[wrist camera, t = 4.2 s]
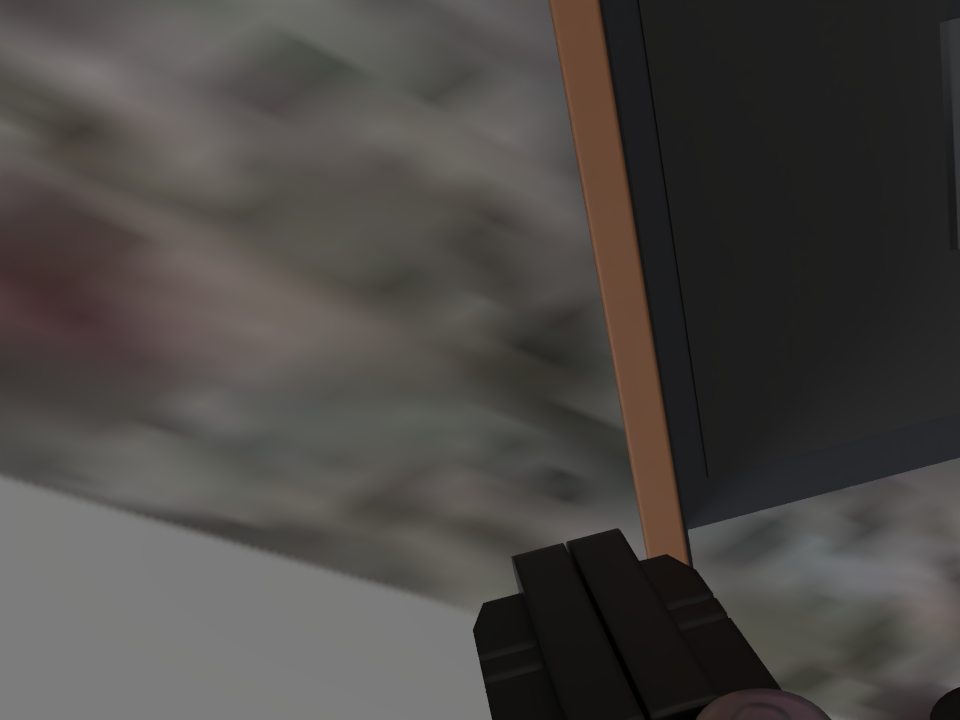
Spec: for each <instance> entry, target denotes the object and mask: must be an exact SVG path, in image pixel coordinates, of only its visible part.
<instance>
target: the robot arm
mask: <svg viewBox="0 0 960 720" xmlns="http://www.w3.org/2000/svg"><path fill="white" fill-rule="evenodd" d="M566 548H567V549H566ZM512 563H513V568H514V573H515V577H516V581H517V586H518V590H519V594H515V595H512V596H508V597H504V598H500V599H497V600H493V601H489V602H485V603H483V605H482V608H481V610H480V613H479V615H478V618H477V621H476V623H475V626H474V629H473V633H474V638H475V642H476V647H477V652H478V656H479V660H480V666H481V670H482V675H483V679H484V683H485V688H486V693H487V697H488V702H489V707H490V712H491V716H492V720H831V719H830V717H829V716H828V715H827V714H826V713H825V712H824V711H823V710H822V709H820V708H819V707H818V706H816V705H815V704H814V703H812V702H811V701H809V700H807V699H805V698H803V697H801V696H798V695H795V694H792V693H790V692H786V691H782V689H781V688H780V687H779V685H778V684H777V682H776V681H775V680H774V678H773V677H772V675H771V674H770V673H769V671H768V670H767V668H766V667H765V666H764V664H763V663H762V661H761V660H760V659H759V657H758V656H757V654H756V653H755V652H754V650H753V649H752V647H751V646H750V645H749V643H748V642H747V640H746V639H745V638H744V636H743V635H742V633H741V632H740V631H739V629H738V628H737V626H736V625H735V624H734V622H733V621H732V619H731V618H728V616H727V612H726V611H725V610H724V608H723V607H722V605H721V604H720V603H719V601H718V600H717V598H714V596H713V593H712V591H711V590H710V589H709V587H708V586H707V584H706V583H705V582H704V580H703V579H702V577H701V576H700V575H699V573H698V572H697V570H695V569H694V568H692V567H690V566H688V565H686V564H684V563H683V562H681V561H679V560H677V559H675V558H674V557H672V556H670V555H668V554H664V555H661V556H657V557H653V558H649V559H646V560H642V561H639V560H638V558H637V557H636V555H635V553H634V552H633V550H632V548H631V547H630V545H629V544H628V542H627V540H626V539H625V537H624V535H623V534H622V532H621V531H620V530H619V529H618V528H617V529H613V530H609V531H605V532H601V533H598V534H594V535H590V536H586V537H583V538H579V539H575V540H571V541H567V542H566V547H565V545H564V544H563V543H561V544H557V545H553V546H549V547H545V548H542V549H538V550H534V551H530V552H526V553H523V554H519V555H515V556H512ZM930 720H960V687H959V688H956V689H954V690H952V691H950V692H948V693H946V694H945V695H944V696H943V697H941V698H940V699H939V700H938V701H937V703H936V704H935V705H934V707H933V709H932V712H931V714H930Z"/></svg>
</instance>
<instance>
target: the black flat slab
mask: <svg viewBox="0 0 960 720" xmlns="http://www.w3.org/2000/svg"><path fill="white" fill-rule="evenodd" d="M604 5H605V11H606V17H607V24H608V30H609V36H610V43H611V49H612V55H613V62H614V68H615V74H616V81H617V87H618V93H619V100H620V106H621V112H622V119H623V125H624V131H625V138H626V144H627V150H628V157H629V163H630V169H631V176H632V182H633V188H634V195H635V201H636V207H637V214H638V220H639V226H640V233H641V239H642V245H643V252H644V258H645V264H646V271H647V277H648V283H649V290H650V296H651V302H652V309H653V315H654V321H655V328H656V334H657V340H658V347H659V353H660V359H661V366H662V372H663V378H664V385H665V391H666V397H667V404H668V410H669V416H670V423H671V429H672V435H673V442H674V448H675V454H676V461H677V467H678V473H679V480H680V486H681V492H682V499H683V505H684V511H685V518H686V524H687V530H689V529H693V528H696V527H700V526H704V525H708V524H711V523H715V522H719V521H723V520H726V519H730V518H734V517H738V516H742V515H745V514H749V513H753V512H757V511H760V510H764V509H768V508H772V507H775V506H779V505H783V504H787V503H790V502H794V501H798V500H802V499H805V498H809V497H813V496H817V495H820V494H824V493H828V492H832V491H835V490H839V489H843V488H847V487H850V486H854V485H858V484H862V483H865V482H869V481H873V480H877V479H880V478H884V477H888V476H892V475H895V474H899V473H903V472H907V471H910V470H914V469H918V468H922V467H926V466H929V465H933V464H937V463H941V462H944V461H948V460H952V459H956V458H959V457H960V0H604Z"/></svg>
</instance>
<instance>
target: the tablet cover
mask: <svg viewBox="0 0 960 720" xmlns="http://www.w3.org/2000/svg"><path fill="white" fill-rule="evenodd" d="M549 4H550V10H551V15H552V21H553V27H554V32H555V38H556V44H557V49H558V55H559V61H560V66H561V72H562V78H563V83H564V89H565V95H566V100H567V106H568V112H569V117H570V123H571V129H572V135H573V140H574V146H575V152H576V157H577V163H578V169H579V174H580V180H581V186H582V191H583V197H584V203H585V208H586V214H587V220H588V225H589V231H590V237H591V242H592V248H593V254H594V259H595V265H596V271H597V276H598V282H599V288H600V293H601V299H602V305H603V310H604V316H605V322H606V327H607V333H608V339H609V344H610V350H611V356H612V361H613V367H614V373H615V378H616V384H617V390H618V395H619V401H620V407H621V412H622V418H623V424H624V429H625V435H626V441H627V446H628V452H629V458H630V464H631V469H632V475H633V481H634V486H635V492H636V498H637V503H638V509H639V515H640V520H641V526H642V532H643V537H644V543H645V549H646V554H647V559H649V558H653V557H657V556H661V555H664V554H668V555H670V556H672V557H674V558H675V559H677V560H679V561H681V562H683V563H684V564H686V565H688V566H690V567H692V568H693V562H692V556H691V549H690V543H689V537H688V530H687V524H686V518H685V511H684V505H683V499H682V492H681V486H680V480H679V473H678V467H677V461H676V454H675V448H674V442H673V435H672V429H671V423H670V416H669V410H668V404H667V397H666V391H665V385H664V378H663V372H662V366H661V359H660V353H659V347H658V340H657V334H656V328H655V321H654V315H653V309H652V302H651V296H650V290H649V283H648V277H647V271H646V264H645V258H644V252H643V245H642V239H641V233H640V226H639V220H638V214H637V207H636V201H635V195H634V188H633V182H632V176H631V169H630V163H629V157H628V150H627V144H626V138H625V131H624V125H623V119H622V112H621V106H620V100H619V93H618V87H617V81H616V74H615V68H614V62H613V55H612V49H611V43H610V36H609V30H608V24H607V17H606V11H605V5H604V0H549Z"/></svg>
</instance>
